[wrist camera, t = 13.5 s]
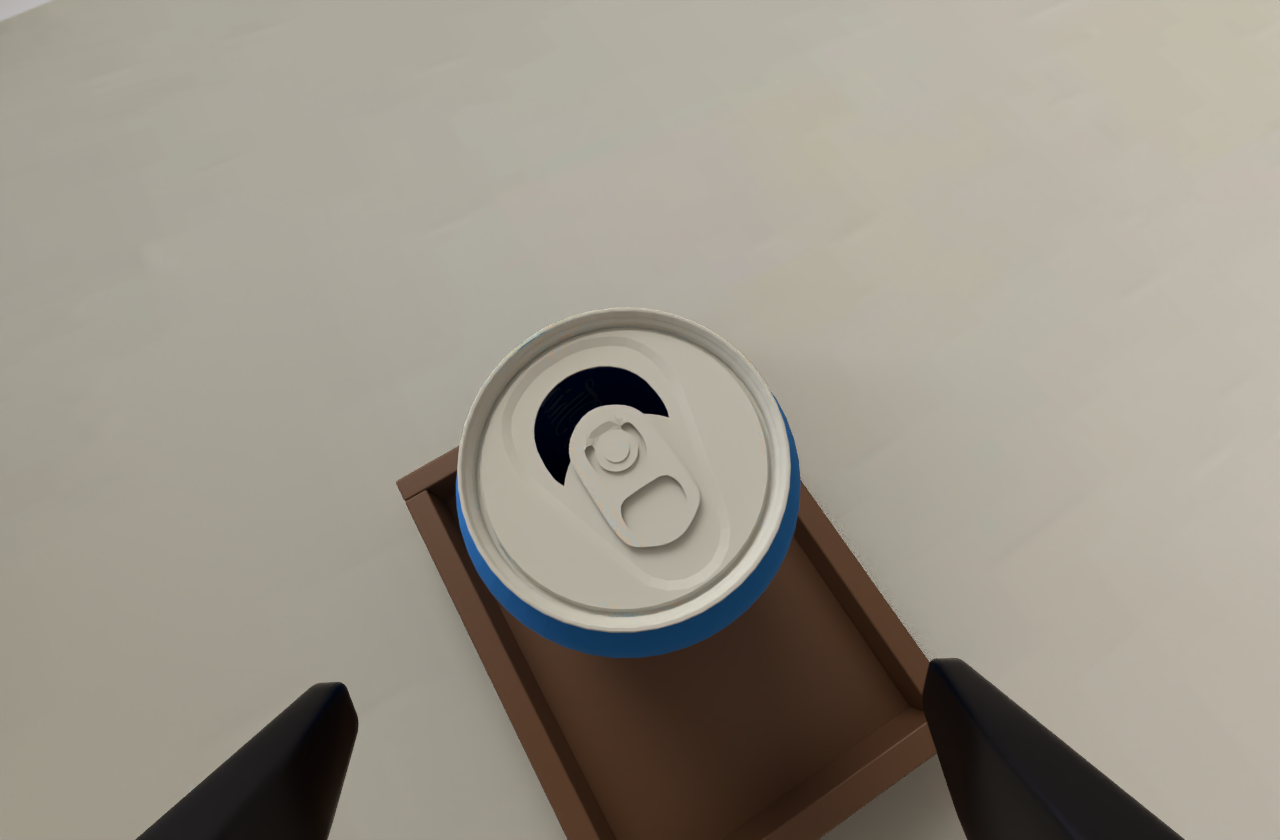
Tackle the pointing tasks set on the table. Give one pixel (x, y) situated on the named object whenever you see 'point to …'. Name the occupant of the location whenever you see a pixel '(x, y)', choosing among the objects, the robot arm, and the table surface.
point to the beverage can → (626, 483)
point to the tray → (705, 698)
